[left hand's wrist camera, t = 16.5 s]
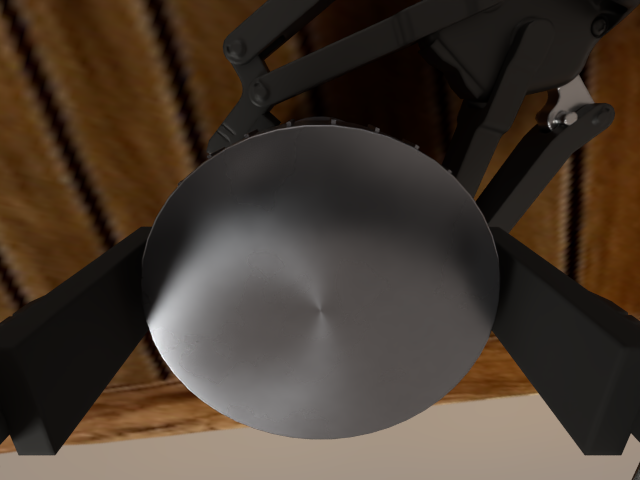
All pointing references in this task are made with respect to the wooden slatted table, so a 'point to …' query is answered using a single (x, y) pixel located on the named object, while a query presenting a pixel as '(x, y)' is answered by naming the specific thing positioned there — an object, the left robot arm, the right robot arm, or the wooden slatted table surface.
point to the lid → (320, 280)
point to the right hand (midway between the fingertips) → (265, 270)
